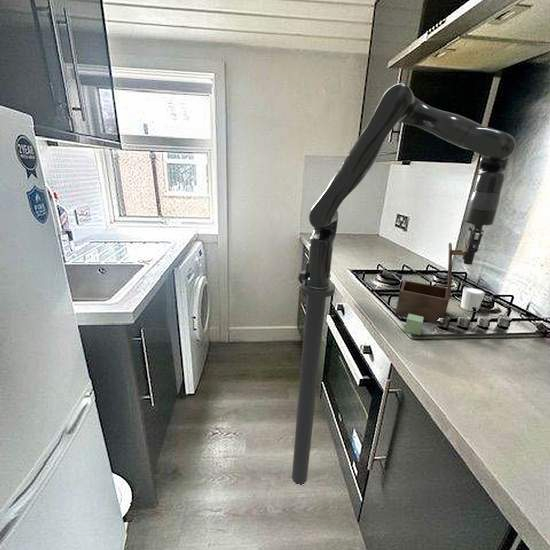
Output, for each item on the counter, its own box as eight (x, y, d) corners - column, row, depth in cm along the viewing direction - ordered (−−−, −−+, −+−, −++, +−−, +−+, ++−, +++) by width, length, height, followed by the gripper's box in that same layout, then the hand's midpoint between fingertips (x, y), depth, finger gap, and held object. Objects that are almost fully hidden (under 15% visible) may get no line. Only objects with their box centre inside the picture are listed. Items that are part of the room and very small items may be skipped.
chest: (395, 314, 104) (400, 290, 102) (400, 301, 115) (404, 280, 112) (442, 324, 98) (449, 300, 95) (443, 310, 109) (448, 288, 106)
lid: (449, 250, 92) (470, 249, 89) (448, 243, 102) (467, 242, 100) (447, 298, 95) (468, 299, 93) (447, 286, 106) (465, 287, 103)
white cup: (473, 304, 115) (477, 287, 113) (484, 312, 109) (489, 294, 107) (455, 303, 116) (459, 286, 113) (465, 311, 109) (470, 293, 107)
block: (404, 331, 93) (407, 318, 91) (405, 325, 96) (408, 313, 95) (420, 335, 91) (422, 322, 89) (420, 329, 94) (423, 316, 93)
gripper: (465, 204, 98) (452, 255, 103) (469, 208, 86) (454, 265, 91) (493, 207, 95) (478, 259, 100) (500, 211, 83) (483, 269, 88)
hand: (466, 261), depth 96 cm, fingers closed on lid, 5 cm apart
